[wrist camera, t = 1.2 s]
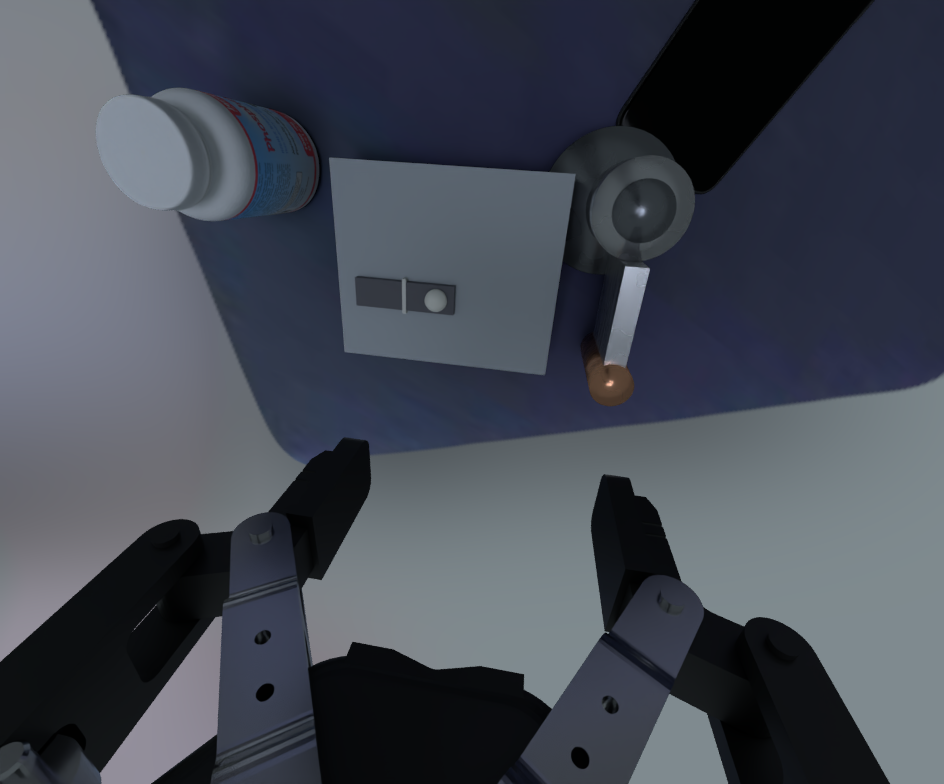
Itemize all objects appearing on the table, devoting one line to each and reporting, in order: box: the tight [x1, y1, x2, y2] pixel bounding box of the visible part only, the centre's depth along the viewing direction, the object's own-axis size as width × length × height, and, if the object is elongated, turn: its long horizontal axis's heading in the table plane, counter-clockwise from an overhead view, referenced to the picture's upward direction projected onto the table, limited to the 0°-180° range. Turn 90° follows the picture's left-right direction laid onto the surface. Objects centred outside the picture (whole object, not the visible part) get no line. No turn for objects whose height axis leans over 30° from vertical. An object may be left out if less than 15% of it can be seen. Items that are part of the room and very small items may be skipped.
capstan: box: [550, 126, 695, 406], centre depth 25 cm, size 14×8×8 cm, turn 176°
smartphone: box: [616, 0, 874, 194], centre depth 22 cm, size 7×1×15 cm
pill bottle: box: [96, 88, 319, 221], centre depth 24 cm, size 6×6×11 cm
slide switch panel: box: [329, 158, 576, 375], centre depth 28 cm, size 12×14×6 cm
